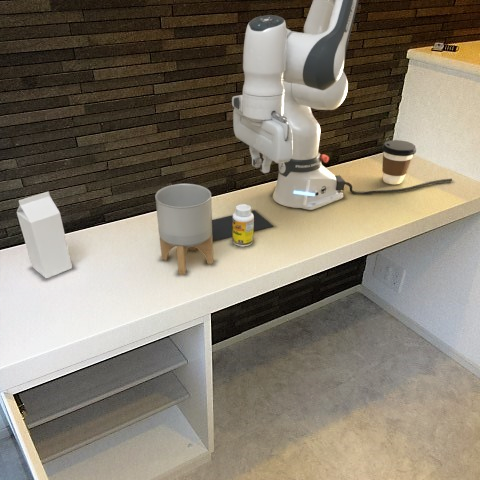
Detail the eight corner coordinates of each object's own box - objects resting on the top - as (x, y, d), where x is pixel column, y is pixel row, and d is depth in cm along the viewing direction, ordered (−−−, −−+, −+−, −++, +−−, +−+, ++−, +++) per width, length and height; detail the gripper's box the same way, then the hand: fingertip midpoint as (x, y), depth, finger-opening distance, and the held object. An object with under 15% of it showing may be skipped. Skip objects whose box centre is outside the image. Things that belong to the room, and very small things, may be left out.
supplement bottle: (228, 241, 135) (228, 206, 128) (244, 235, 137) (245, 200, 131) (240, 249, 131) (240, 214, 125) (257, 243, 134) (258, 208, 128)
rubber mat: (254, 211, 149) (254, 210, 149) (273, 226, 142) (273, 225, 141) (192, 225, 142) (192, 224, 141) (209, 242, 134) (209, 241, 134)
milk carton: (72, 268, 123) (56, 196, 111) (46, 279, 119) (26, 205, 107) (58, 257, 127) (41, 186, 115) (32, 267, 123) (11, 195, 111)
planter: (155, 272, 122) (148, 204, 111) (168, 246, 132) (163, 181, 121) (207, 276, 121) (205, 209, 110) (217, 249, 131) (215, 185, 120)
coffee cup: (378, 186, 164) (385, 150, 157) (373, 174, 173) (379, 139, 165) (412, 187, 164) (420, 151, 157) (404, 174, 173) (412, 139, 165)
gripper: (302, 117, 100) (297, 182, 109) (252, 92, 114) (251, 152, 123) (275, 121, 98) (272, 188, 106) (228, 96, 112) (228, 157, 120)
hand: (260, 169), depth 115 cm, fingers closed
